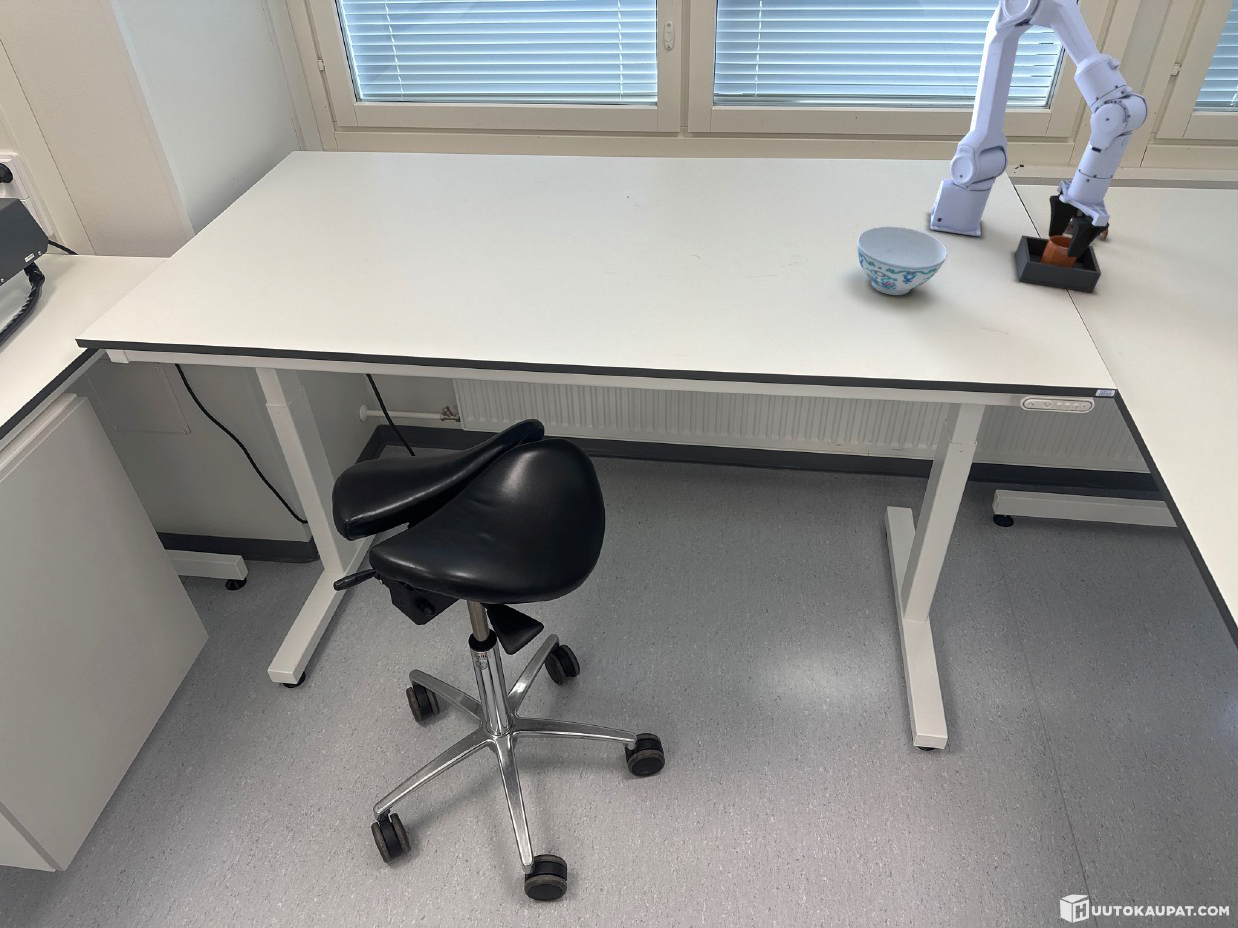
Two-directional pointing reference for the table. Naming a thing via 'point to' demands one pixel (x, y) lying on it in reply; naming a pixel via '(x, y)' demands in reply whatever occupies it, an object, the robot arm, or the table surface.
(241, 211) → the table surface
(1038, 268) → the tray
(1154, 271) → the table surface
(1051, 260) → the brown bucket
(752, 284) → the table surface
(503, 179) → the table surface
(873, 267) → the chinaware
